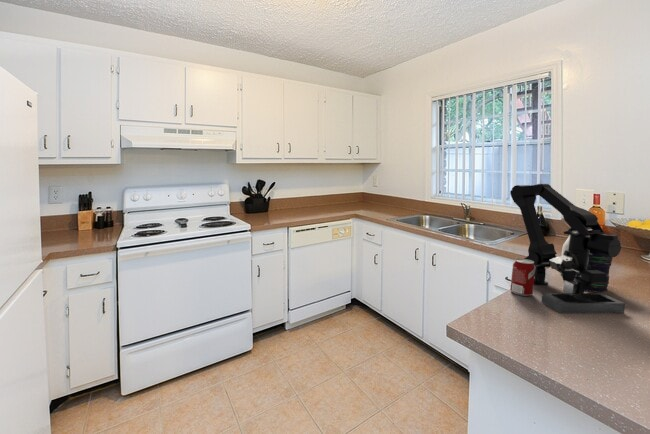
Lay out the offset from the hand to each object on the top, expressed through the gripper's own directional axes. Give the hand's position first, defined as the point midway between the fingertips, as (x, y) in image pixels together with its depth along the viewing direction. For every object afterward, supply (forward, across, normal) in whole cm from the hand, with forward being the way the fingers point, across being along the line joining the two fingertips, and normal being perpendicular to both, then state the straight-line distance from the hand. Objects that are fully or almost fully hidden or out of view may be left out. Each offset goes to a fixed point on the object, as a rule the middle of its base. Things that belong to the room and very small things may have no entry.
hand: (573, 292), depth 110 cm
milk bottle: (+1, -21, +16) cm, 27 cm away
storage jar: (+1, -8, +13) cm, 15 cm away
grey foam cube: (+1, 0, 0) cm, 1 cm away
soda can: (+1, -2, -17) cm, 17 cm away
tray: (+1, +10, -5) cm, 11 cm away
